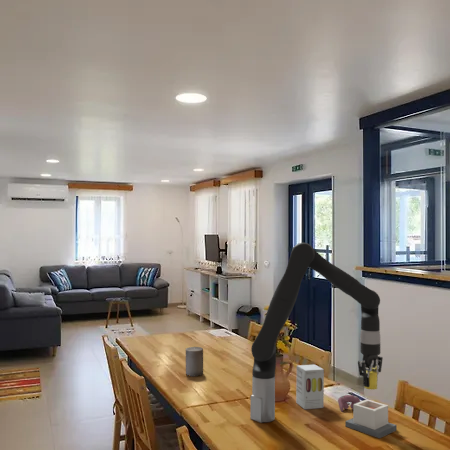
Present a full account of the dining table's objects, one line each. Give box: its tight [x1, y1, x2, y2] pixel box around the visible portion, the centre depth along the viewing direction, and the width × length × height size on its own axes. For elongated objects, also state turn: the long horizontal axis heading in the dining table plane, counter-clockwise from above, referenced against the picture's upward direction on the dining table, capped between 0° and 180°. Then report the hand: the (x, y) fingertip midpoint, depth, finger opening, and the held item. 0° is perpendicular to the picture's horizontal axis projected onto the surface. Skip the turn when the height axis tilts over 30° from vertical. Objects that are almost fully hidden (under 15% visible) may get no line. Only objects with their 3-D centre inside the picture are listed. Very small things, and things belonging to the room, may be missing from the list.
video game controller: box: [337, 394, 361, 412], centre depth 208 cm, size 10×5×7 cm, turn 93°
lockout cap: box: [363, 371, 378, 391], centre depth 187 cm, size 5×5×6 cm
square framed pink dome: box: [344, 399, 398, 439], centre depth 187 cm, size 12×15×9 cm
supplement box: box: [295, 364, 325, 410], centre depth 213 cm, size 10×9×17 cm
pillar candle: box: [185, 346, 204, 377], centre depth 261 cm, size 10×10×15 cm
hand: (370, 385), depth 187 cm, fingers closed on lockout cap, 5 cm apart
